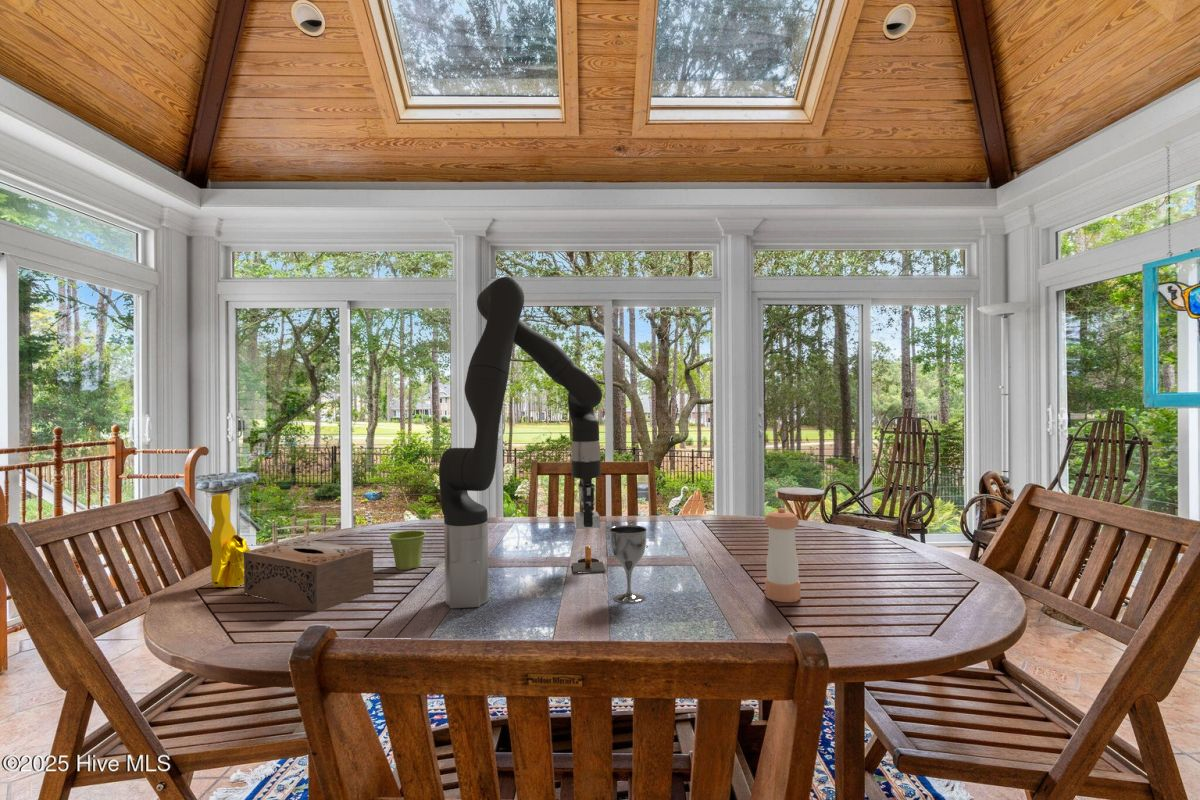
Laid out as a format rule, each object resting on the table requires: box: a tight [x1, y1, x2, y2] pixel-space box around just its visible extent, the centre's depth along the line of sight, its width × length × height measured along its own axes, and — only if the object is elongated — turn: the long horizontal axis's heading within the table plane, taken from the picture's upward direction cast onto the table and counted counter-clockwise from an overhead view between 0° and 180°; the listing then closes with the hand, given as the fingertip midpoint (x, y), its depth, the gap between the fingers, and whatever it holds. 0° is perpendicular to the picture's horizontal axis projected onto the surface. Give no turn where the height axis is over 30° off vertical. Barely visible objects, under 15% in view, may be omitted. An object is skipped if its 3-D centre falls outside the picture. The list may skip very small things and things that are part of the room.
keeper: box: [571, 545, 607, 574], centre depth 154 cm, size 8×8×6 cm
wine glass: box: [609, 524, 647, 605], centre depth 131 cm, size 8×8×15 cm
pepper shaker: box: [764, 507, 802, 603], centre depth 130 cm, size 7×7×19 cm
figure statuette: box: [209, 493, 252, 588], centre depth 145 cm, size 18×8×22 cm, turn 1°
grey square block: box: [573, 511, 601, 530], centre depth 154 cm, size 6×6×3 cm
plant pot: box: [387, 530, 427, 571], centre depth 158 cm, size 9×9×9 cm
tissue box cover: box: [243, 538, 375, 613], centre depth 138 cm, size 26×14×10 cm, turn 61°
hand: (587, 523), depth 154 cm, fingers closed on grey square block, 6 cm apart
